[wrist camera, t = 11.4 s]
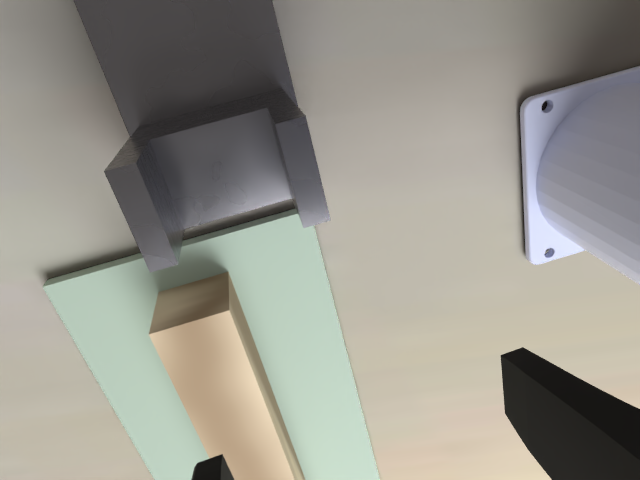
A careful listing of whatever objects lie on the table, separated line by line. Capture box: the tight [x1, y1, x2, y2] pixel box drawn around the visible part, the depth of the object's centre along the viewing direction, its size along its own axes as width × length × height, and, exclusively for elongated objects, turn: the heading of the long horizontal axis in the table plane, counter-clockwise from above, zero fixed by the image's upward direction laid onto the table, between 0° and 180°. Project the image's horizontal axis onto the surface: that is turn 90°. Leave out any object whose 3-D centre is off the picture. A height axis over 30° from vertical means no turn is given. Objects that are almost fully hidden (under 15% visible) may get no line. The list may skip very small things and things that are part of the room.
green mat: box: [43, 209, 380, 480], centre depth 24 cm, size 11×20×1 cm, turn 13°
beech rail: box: [149, 272, 305, 480], centre depth 22 cm, size 3×16×3 cm, turn 13°
